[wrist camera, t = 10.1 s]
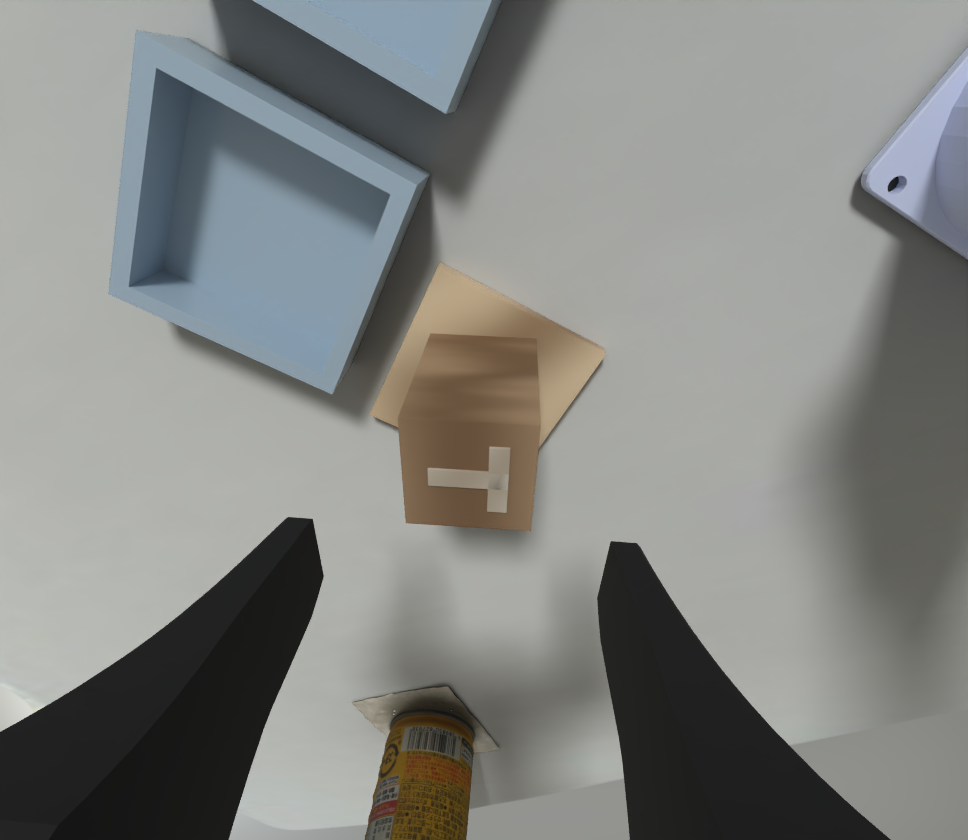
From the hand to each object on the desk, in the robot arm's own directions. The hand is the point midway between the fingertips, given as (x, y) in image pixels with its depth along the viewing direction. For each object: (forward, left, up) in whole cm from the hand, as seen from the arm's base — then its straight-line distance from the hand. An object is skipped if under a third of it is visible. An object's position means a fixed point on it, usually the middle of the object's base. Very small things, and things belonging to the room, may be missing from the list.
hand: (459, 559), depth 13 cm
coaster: (0, 0, -10) cm, 10 cm away
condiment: (-9, +26, -10) cm, 30 cm away
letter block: (0, 0, -9) cm, 9 cm away
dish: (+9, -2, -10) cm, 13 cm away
